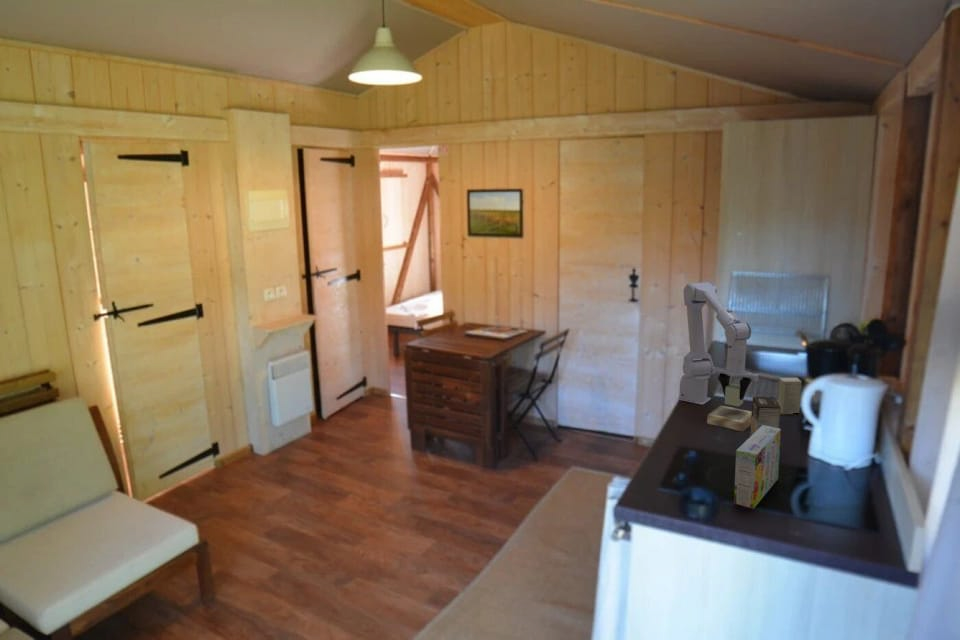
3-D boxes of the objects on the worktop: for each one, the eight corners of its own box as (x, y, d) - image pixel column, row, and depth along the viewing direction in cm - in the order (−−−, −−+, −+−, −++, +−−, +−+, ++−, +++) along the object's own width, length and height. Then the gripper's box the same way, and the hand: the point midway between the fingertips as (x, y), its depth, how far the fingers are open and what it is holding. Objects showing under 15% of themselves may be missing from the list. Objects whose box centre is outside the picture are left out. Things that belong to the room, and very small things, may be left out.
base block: (707, 423, 222) (707, 414, 221) (720, 413, 231) (721, 404, 230) (743, 431, 214) (743, 422, 214) (755, 420, 223) (756, 412, 222)
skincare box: (794, 410, 232) (797, 377, 230) (799, 414, 228) (802, 381, 225) (776, 409, 233) (778, 377, 230) (780, 414, 229) (783, 380, 226)
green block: (724, 403, 222) (725, 386, 221) (729, 400, 226) (730, 383, 224) (738, 406, 219) (739, 389, 218) (743, 403, 223) (744, 386, 222)
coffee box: (748, 444, 204) (752, 395, 201) (770, 446, 203) (774, 396, 199) (754, 457, 195) (758, 405, 192) (777, 458, 194) (781, 406, 191)
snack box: (757, 474, 184) (761, 423, 181) (778, 479, 181) (783, 428, 178) (731, 504, 168) (735, 449, 165) (754, 510, 165) (758, 454, 162)
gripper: (710, 357, 220) (708, 396, 223) (754, 364, 211) (751, 404, 214) (718, 353, 226) (715, 390, 229) (761, 359, 216) (759, 399, 219)
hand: (733, 397), depth 222 cm, fingers closed on green block, 5 cm apart
